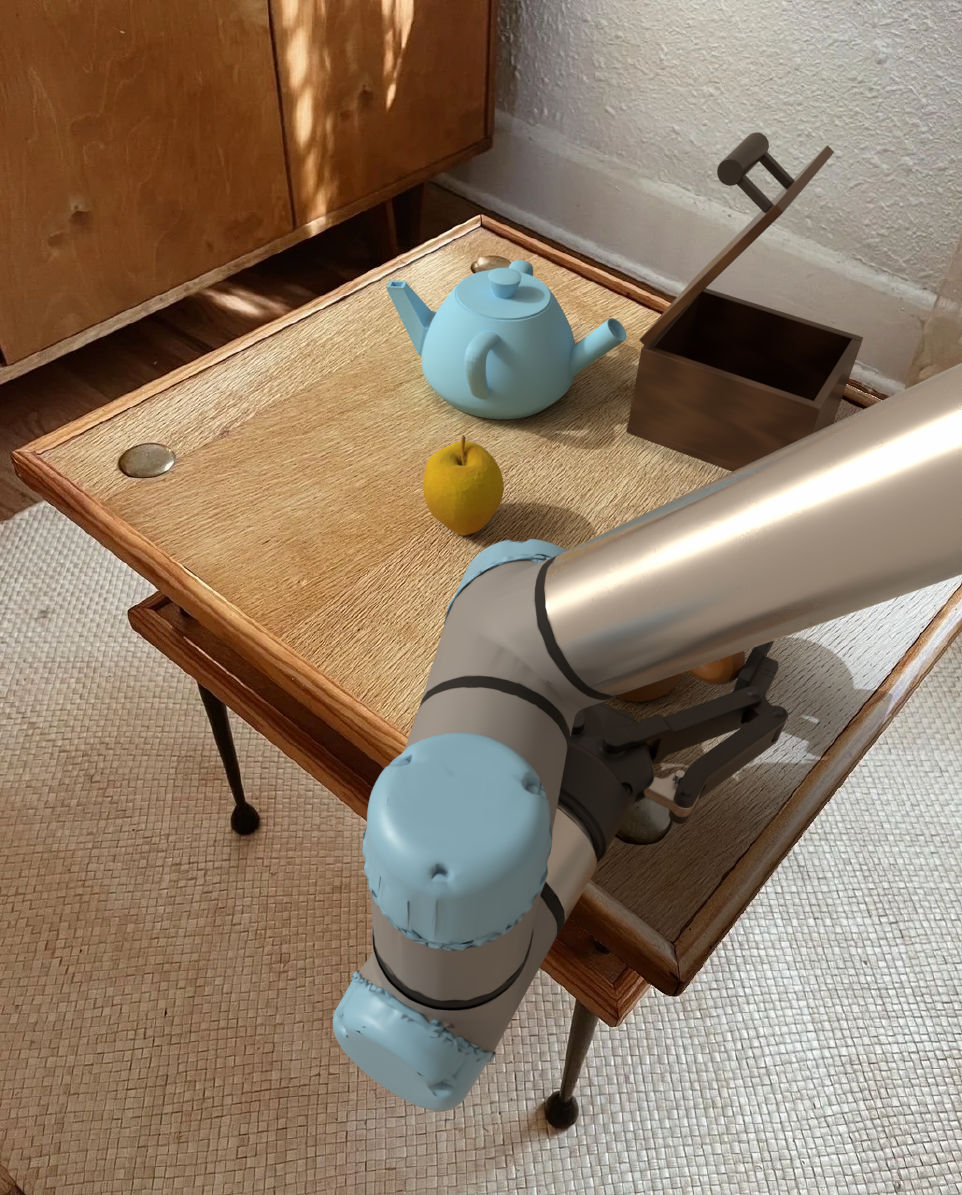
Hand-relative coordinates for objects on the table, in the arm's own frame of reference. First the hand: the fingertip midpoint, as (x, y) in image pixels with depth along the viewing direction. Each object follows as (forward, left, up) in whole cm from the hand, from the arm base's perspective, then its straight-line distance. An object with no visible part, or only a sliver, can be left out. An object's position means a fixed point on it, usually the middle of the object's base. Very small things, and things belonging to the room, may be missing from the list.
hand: (687, 591), depth 71 cm
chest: (+6, -28, -6) cm, 29 cm away
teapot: (+27, -22, -6) cm, 35 cm away
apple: (+20, -3, -6) cm, 21 cm away
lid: (+9, -28, +10) cm, 31 cm away
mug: (0, +4, -6) cm, 7 cm away
